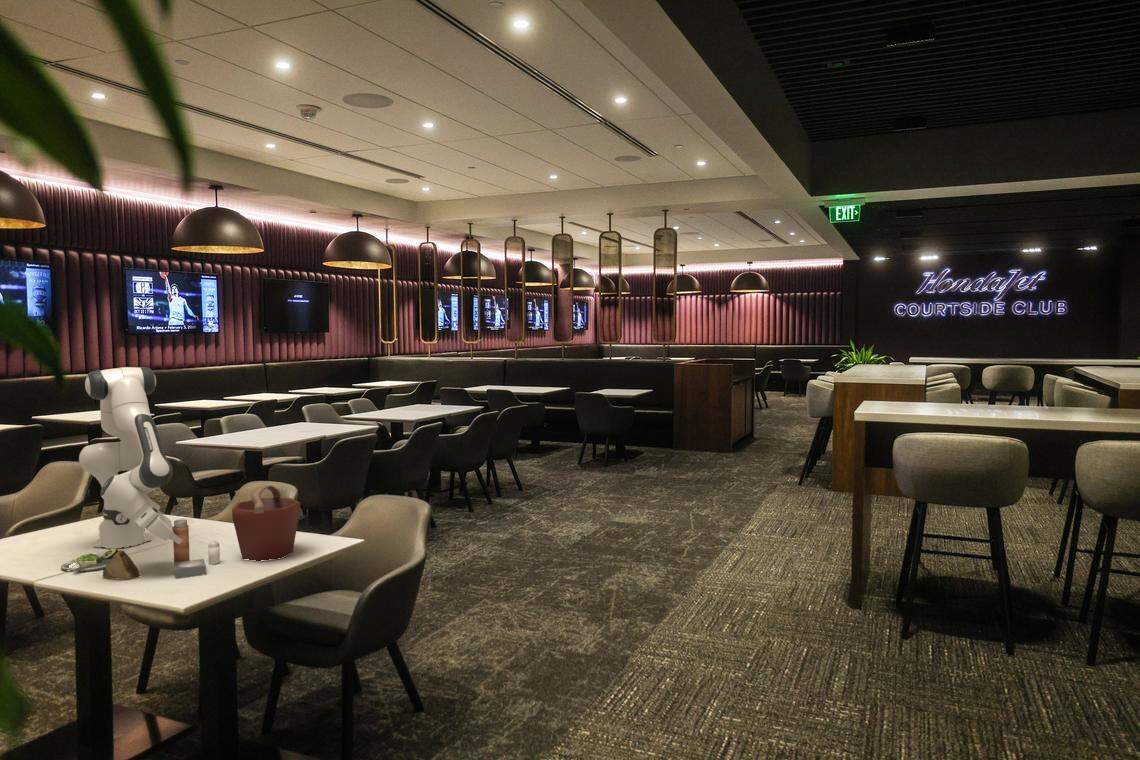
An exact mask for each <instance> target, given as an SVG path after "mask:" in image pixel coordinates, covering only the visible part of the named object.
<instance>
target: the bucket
mask: <svg viewBox="0 0 1140 760" xmlns="http://www.w3.org/2000/svg"><path fill="white" fill-rule="evenodd" d="M266 489H267V490H268V491H271V495H272V497H261V495H262V493H263V492H265V490H266ZM249 496H250V499H249V500H244V501H239V502H236V503H235V504H234V506H233V507H232V508H231V512H232V513H231V515H232V516H231V517H232V520H233V521H232V522H233V526H234V529H235V534H236V538H237V542H238V545H239V546H238V547H239V551H240V555H241V558H242V560H244V559H249V560H248V561H250V560H256V561H261V560H269V559H277V560H279V559H278V558H282V557H284V556H286V555H288V554H290V553H292V554H293V551H294V545H295V541H296V535H297V531H298V530H297V529H298V525H299V520H300V519H299V518H300V513H301V502H300V501H298V500H296V499H294V498H291V497H282V494H281V491H280V489H279V488H277V487H276V486H274V485H271V484H270V485H269V484H268V485H267V484H266V485H265V484H264V485H261V486H258V487H256V488H255V489H254V490H253V491H251V493H250V495H249ZM290 555H291V554H290ZM288 556H289V555H288ZM286 557H287V556H286ZM284 558H285V557H284ZM282 559H283V558H282ZM256 561H255V562H256ZM269 561H270V560H269ZM261 562H262V561H261Z"/></svg>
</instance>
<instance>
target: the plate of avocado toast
mask: <svg viewBox="0 0 1140 760" xmlns="http://www.w3.org/2000/svg"><path fill="white" fill-rule="evenodd" d="M118 551H119V548H109V549H108V550H107V551H106V552H105V553H88V554H86V553H85V554H82V555H80V556H78V557H76V558H74V559H72V560H70V561H67V562H65V563H62V564H61V565H60V568H61V569H62V570H63V569H64V571H65V570H70V571H79V572H78V573H84V572H83V571H87V572H92V571H91V570H95V571H99V570H98V569H101V570H104V569H103V568H105V566H106V565H107V563H108V562H109V560H110V559H111V558H113V556H114V555H115V554H116V553H117V552H118ZM76 562H77V563H78V564H79V565H78V564H77V565H78V566H79V567H76V568H73V567H72V568H69V565H71V564H73V563H76Z"/></svg>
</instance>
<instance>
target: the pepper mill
mask: <svg viewBox="0 0 1140 760" xmlns="http://www.w3.org/2000/svg"><path fill="white" fill-rule="evenodd" d="M189 526H190V525H188V519H186V518H184V519H183V518H180V519H175V520H174V521H173V532H174V533H175V535H177V536H179V537H180V538H181V539H182V542H181V543H180V544H177V543H176V542H174V541H172V542H173V543H172V547H173V563H174V562H182V561H189V560H191V559H190V531H189V529H190V527H189Z"/></svg>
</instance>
